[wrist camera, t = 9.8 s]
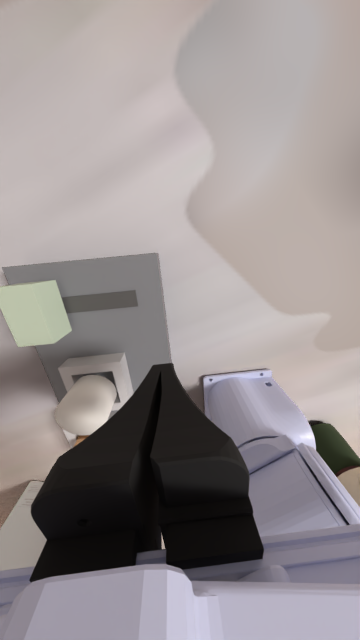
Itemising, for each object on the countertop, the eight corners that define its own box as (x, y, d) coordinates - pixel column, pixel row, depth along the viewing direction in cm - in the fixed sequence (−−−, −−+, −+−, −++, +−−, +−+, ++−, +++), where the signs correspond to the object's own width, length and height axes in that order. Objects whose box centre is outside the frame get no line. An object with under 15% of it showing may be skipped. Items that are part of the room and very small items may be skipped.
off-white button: (111, 372, 17) (100, 394, 14) (120, 406, 19) (111, 432, 16) (67, 377, 17) (47, 400, 14) (80, 410, 18) (63, 437, 16)
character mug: (284, 419, 27) (377, 550, 15) (328, 402, 26) (464, 525, 14) (299, 458, 31) (385, 591, 18) (338, 444, 30) (454, 572, 18)
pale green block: (55, 279, 15) (31, 283, 13) (72, 330, 17) (54, 343, 14) (21, 283, 15) (-9, 287, 13) (41, 333, 17) (18, 347, 14)
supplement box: (30, 478, 29) (-70, 635, 17) (76, 484, 30) (13, 634, 18) (28, 504, 31) (-61, 658, 19) (71, 508, 32) (12, 656, 20)
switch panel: (158, 253, 18) (154, 251, 14) (180, 430, 27) (181, 461, 23) (24, 266, 18) (-20, 268, 14) (90, 441, 26) (76, 473, 22)
